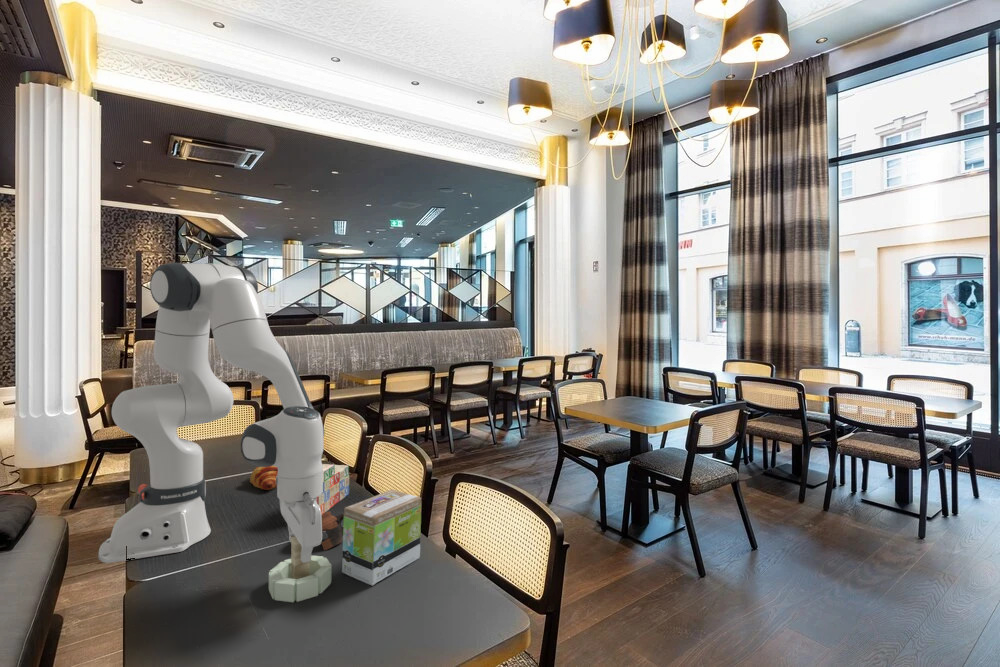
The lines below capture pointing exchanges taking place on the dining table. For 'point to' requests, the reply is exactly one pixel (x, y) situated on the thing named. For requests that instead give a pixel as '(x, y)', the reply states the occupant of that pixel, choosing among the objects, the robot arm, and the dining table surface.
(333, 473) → the stack of blocks
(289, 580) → the sage ring
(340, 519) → the pottery mug
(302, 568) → the wooden block
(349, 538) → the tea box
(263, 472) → the croissant
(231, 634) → the dining table surface
